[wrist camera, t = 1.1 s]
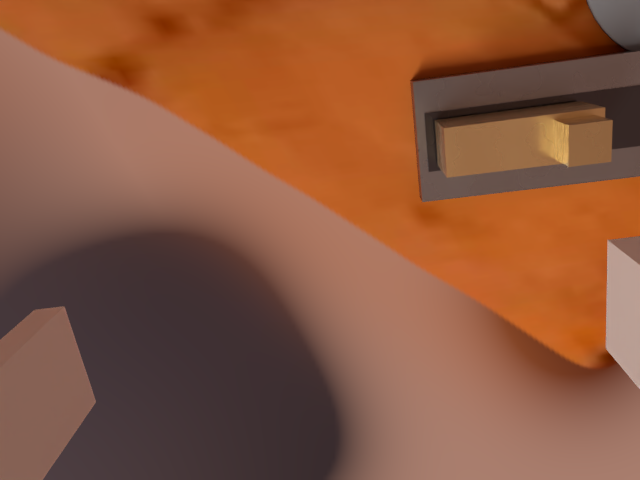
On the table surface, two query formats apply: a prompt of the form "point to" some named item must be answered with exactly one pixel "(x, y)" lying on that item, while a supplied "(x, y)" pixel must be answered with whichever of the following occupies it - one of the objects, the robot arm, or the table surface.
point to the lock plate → (526, 92)
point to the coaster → (619, 20)
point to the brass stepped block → (524, 139)
